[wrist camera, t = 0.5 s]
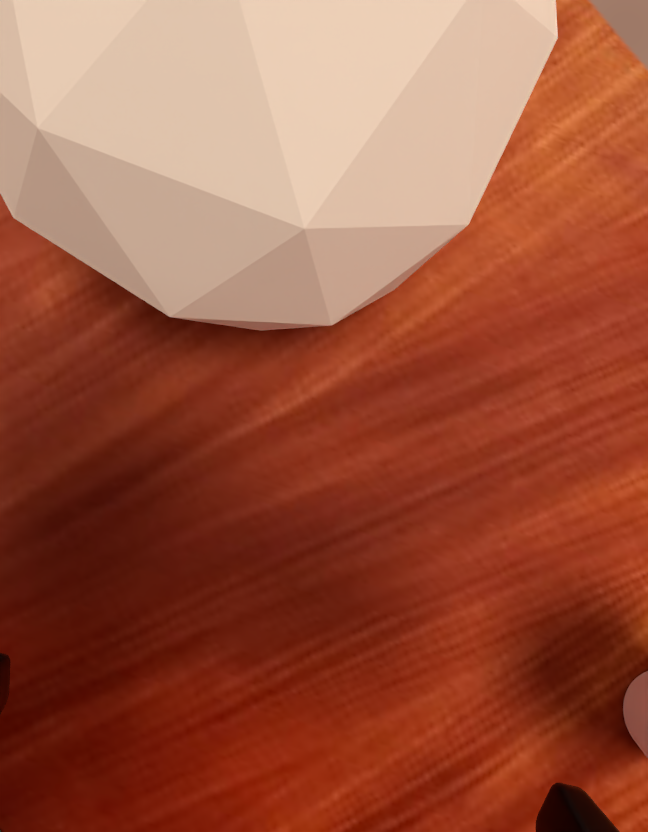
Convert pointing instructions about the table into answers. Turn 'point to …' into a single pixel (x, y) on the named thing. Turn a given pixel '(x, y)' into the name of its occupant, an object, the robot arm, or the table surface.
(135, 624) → the table surface
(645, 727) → the smoothie
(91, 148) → the ball
